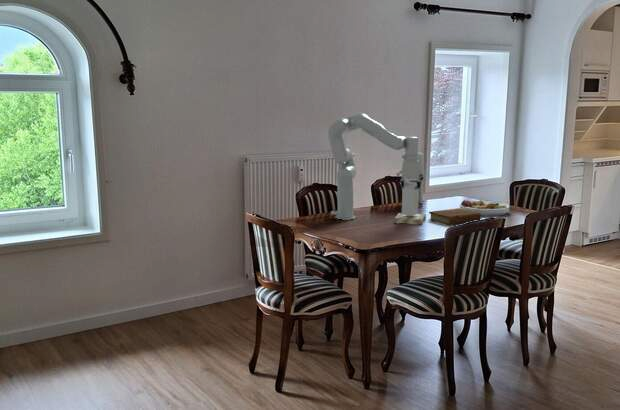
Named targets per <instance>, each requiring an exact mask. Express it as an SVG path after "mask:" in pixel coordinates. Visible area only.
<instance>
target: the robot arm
mask: <svg viewBox="0 0 620 410" xmlns="http://www.w3.org/2000/svg"><path fill="white" fill-rule="evenodd" d="M355 130H360V131H362V132H364V133H366V135H369V136H371V138H372V137H373V138H374V139H375V140H377V141H379V142H380V143H381V144H383V145H385V146H387V147H389V148H391V149H392V150H394V151H399V150H402V149H404V153H405V156H403V155H402V157H401V158H402V159H403V158H404V159H405V160H404V161H403V160H402V167H401V168H402V169H401V171H399V172H397V173H396V174H395V175H396V176H397V178H398V179H399V180H400V183H401V184H400V186H401V188H402V189H403V187H404V178H417V180H418V182H417V188H418V189H419V187H420V181H421V180H422V179H423V180H424V179H425V176H426V173H425V172H424V173H423V172H421V171H420V164H419V161H418V153H419V137H417V136H401V135H396V134H394V133H392V132H390V131H389V130H387V129H386V128H385V127H384V126H383V124H381V123H380V122H377V121H375V120H374V119H372V118H370V117H369V116H368V115H367V114H366V113H356V114H354V115H351V116H347V117H342V118H338V119H335V120H334V121H333V122H331V124H330V126H329V127H328V131H327V136H328V141H329V145H330V149H331V153H332V154H331V155H332V157H333V160H334V163H335V164H337V165H338V167H339V169H338V170H337V172H336V185H337V191H336V192H337V210H335V211H334V210H331V211H330V215H332V216H334V215H335V216H334V219H335V218H337V219H336V220H338V219H342V220H341V221H352V220H351V219H353V220H355V218H356V219H357V216H356V215H354V182H353V181H354V180H353V179H355V177H356V175H357V168H356V165H355V162H354V157H353V154H352V152H351V151H350V149H349V148H347V146H346V144H345V140H344V136H343V134H344V133H347V132H351V131H355ZM420 174H421V175H422V177H421V178H419V176H420Z"/></svg>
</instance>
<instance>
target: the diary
mask: <svg viewBox="0 0 620 410" xmlns="http://www.w3.org/2000/svg"><path fill="white" fill-rule="evenodd" d="M429 214H430V219H429V221H430V220H431V221H430V222H433V221H434V223H437V222H438V223H437V224H441V225H444V224H445V226H449V227H452V226H458V224H459V225H464V224H463V223H466V222H470V221H474V220H480V219H481V220H482V216H481V214H480V213H478V212H474V211H469V210H465V209H460V207H458V208H450V209H441V210H440V209H439V210H435V211H429ZM466 224H467V223H466Z"/></svg>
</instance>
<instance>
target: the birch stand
mask: <svg viewBox="0 0 620 410" xmlns="http://www.w3.org/2000/svg"><path fill="white" fill-rule="evenodd" d="M426 216H427V214H424V213H418V214H416V215H413V216H412V215H404V214H402V212H401V213H400V212H399V213H398V214H397V215H395V217H394V224H399V223H407V224H406V225H419V224H422V225H424V223H425V221H426V218H427V217H426ZM423 222H424V223H423Z"/></svg>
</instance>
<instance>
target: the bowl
mask: <svg viewBox="0 0 620 410" xmlns="http://www.w3.org/2000/svg"><path fill="white" fill-rule="evenodd" d="M459 208H460V209H465V210H469V211H474V212H478V213H480V214H481V217H499V216H503V215H505V214H507V213H508V212H509V211H510V205H509V204H507V203H504V202H498V201H489V200H487V201H485V200H482V199H479V200H471V201H470V200H467V199H466V200H465V199H464V200H463V201H461V202H460V203H459ZM498 215H499V216H498Z"/></svg>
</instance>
